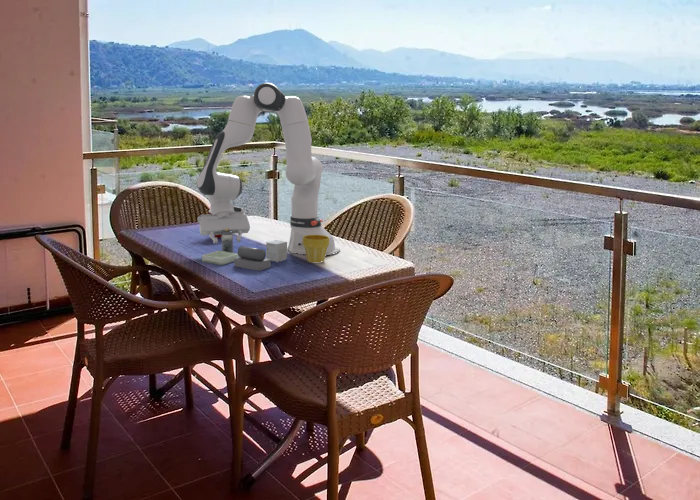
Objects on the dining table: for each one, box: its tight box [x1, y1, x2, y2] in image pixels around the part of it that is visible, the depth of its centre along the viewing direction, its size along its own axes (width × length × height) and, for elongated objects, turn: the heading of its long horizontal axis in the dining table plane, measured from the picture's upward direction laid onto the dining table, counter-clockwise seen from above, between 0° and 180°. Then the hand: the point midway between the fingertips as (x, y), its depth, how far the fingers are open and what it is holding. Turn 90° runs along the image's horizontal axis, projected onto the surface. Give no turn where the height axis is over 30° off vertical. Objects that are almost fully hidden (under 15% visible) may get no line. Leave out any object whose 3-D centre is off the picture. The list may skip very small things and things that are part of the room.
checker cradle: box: [233, 245, 272, 272], centre depth 256 cm, size 12×7×7 cm, turn 60°
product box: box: [265, 239, 288, 263], centre depth 267 cm, size 6×6×7 cm
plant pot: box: [303, 235, 329, 263], centre depth 266 cm, size 10×10×10 cm
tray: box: [201, 250, 239, 266], centre depth 264 cm, size 10×10×2 cm
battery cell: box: [221, 229, 234, 253], centre depth 273 cm, size 4×4×11 cm
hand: (227, 241), depth 272 cm, fingers open, 8 cm apart
